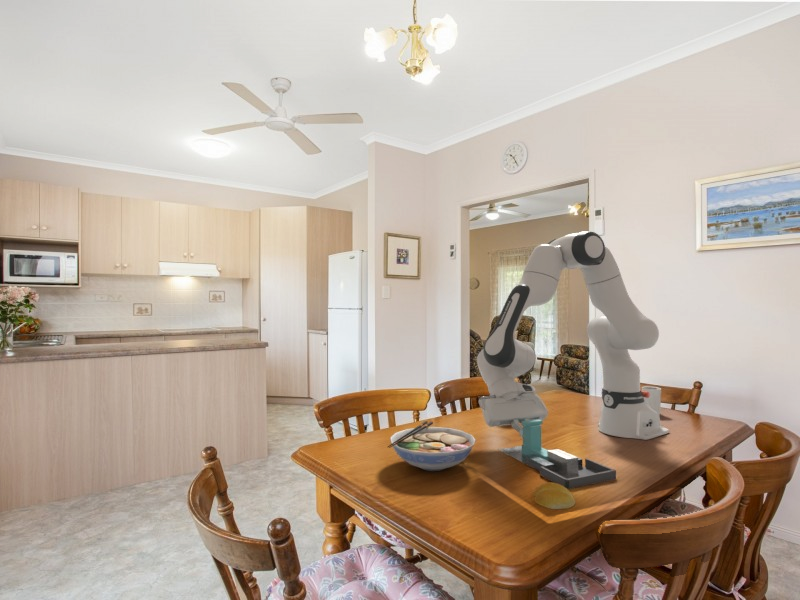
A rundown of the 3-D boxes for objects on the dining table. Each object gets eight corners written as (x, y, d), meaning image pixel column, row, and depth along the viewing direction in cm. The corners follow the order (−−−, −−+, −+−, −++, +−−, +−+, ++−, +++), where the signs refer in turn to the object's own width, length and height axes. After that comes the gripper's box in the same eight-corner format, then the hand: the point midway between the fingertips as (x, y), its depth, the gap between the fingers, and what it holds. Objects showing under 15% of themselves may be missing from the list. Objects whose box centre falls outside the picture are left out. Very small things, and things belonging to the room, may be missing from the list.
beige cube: (558, 464, 113) (558, 448, 113) (568, 468, 110) (567, 453, 110) (547, 466, 112) (547, 450, 112) (557, 470, 108) (556, 454, 108)
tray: (587, 470, 111) (586, 458, 111) (616, 483, 103) (615, 470, 103) (540, 478, 106) (539, 466, 106) (566, 493, 97) (566, 480, 97)
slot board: (531, 447, 129) (531, 437, 129) (582, 470, 111) (582, 459, 111) (497, 452, 125) (497, 442, 125) (545, 478, 106) (544, 465, 106)
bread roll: (535, 513, 89) (535, 493, 89) (533, 494, 98) (532, 476, 98) (578, 517, 87) (578, 497, 87) (572, 498, 96) (571, 480, 96)
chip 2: (568, 468, 110) (567, 453, 110) (578, 473, 106) (578, 457, 106) (557, 470, 108) (556, 454, 108) (567, 475, 105) (567, 459, 105)
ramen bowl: (455, 492, 98) (454, 456, 98) (371, 474, 110) (370, 442, 110) (488, 458, 120) (488, 429, 120) (415, 446, 131) (415, 419, 131)
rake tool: (536, 451, 122) (535, 418, 123) (561, 463, 113) (560, 427, 113) (518, 454, 120) (518, 420, 120) (542, 466, 111) (542, 429, 111)
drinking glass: (665, 415, 166) (665, 389, 166) (648, 415, 166) (647, 389, 166) (654, 411, 173) (654, 386, 173) (638, 411, 172) (638, 386, 173)
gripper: (480, 390, 125) (500, 433, 116) (537, 385, 133) (560, 426, 123) (472, 402, 129) (490, 445, 120) (528, 397, 137) (550, 437, 128)
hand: (526, 435), depth 122 cm, fingers closed, pressing on rake tool
